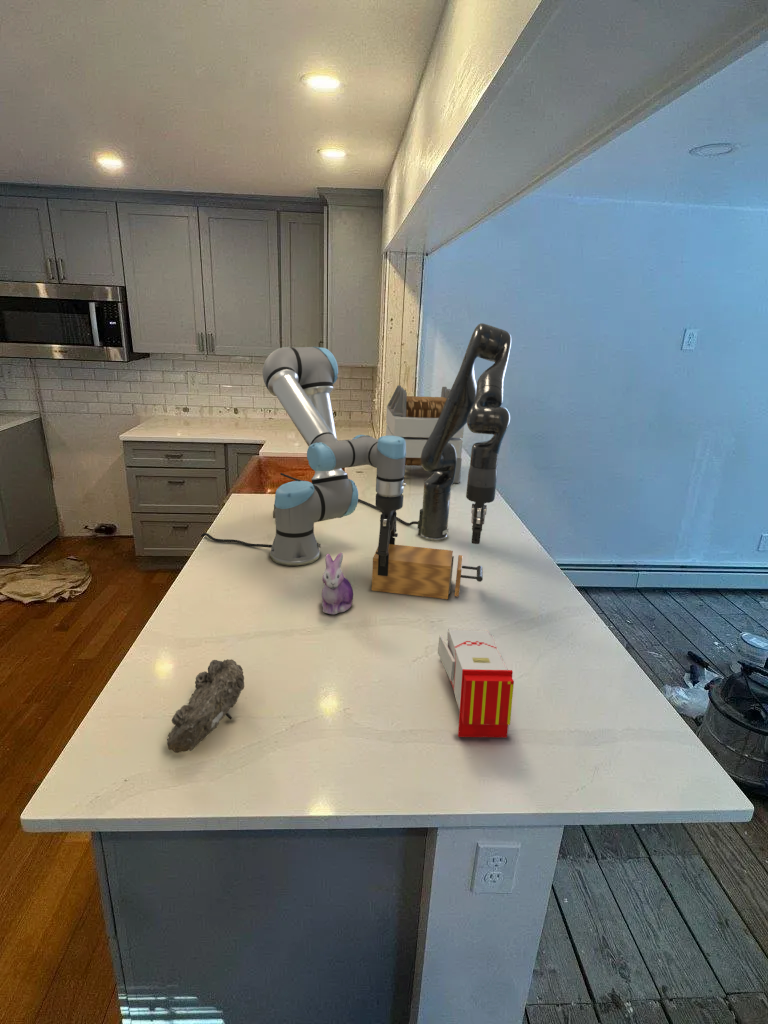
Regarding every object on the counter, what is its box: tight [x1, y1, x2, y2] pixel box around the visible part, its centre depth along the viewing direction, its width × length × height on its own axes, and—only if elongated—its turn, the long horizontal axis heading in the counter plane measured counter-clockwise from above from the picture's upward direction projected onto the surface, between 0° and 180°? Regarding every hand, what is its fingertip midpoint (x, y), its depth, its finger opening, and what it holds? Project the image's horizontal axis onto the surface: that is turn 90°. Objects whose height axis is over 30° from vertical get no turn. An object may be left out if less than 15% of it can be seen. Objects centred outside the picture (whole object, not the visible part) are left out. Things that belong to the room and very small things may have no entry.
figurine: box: [321, 552, 354, 615], centre depth 147 cm, size 9×10×15 cm
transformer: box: [385, 384, 465, 484], centre depth 268 cm, size 34×33×41 cm
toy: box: [437, 628, 515, 738], centre depth 117 cm, size 12×13×30 cm
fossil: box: [166, 658, 245, 754], centre depth 106 cm, size 22×10×15 cm
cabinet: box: [371, 544, 454, 600], centre depth 161 cm, size 21×11×10 cm, turn 81°
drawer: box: [449, 554, 484, 598], centre depth 160 cm, size 26×10×8 cm, turn 81°
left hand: (386, 566), depth 162 cm, fingers closed on cabinet, 11 cm apart
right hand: (475, 542), depth 155 cm, fingers closed
